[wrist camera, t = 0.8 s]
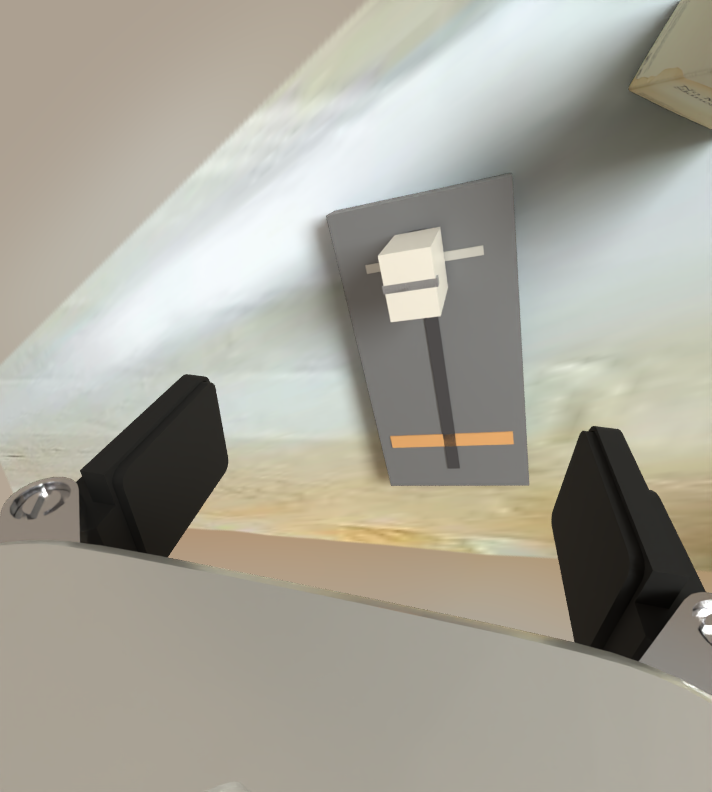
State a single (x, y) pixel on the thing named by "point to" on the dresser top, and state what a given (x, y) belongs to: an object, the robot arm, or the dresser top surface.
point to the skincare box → (681, 64)
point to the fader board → (443, 337)
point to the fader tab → (414, 275)
